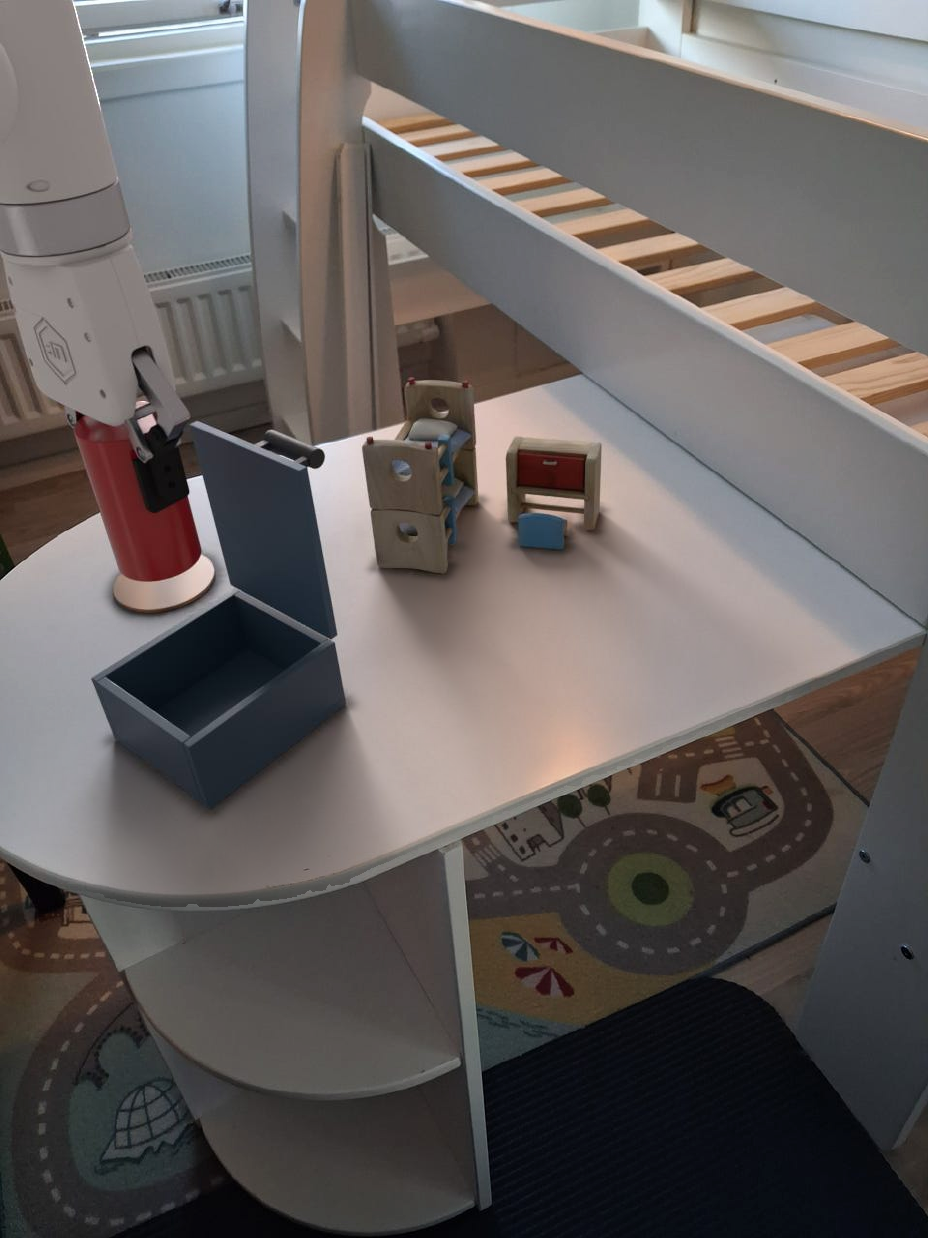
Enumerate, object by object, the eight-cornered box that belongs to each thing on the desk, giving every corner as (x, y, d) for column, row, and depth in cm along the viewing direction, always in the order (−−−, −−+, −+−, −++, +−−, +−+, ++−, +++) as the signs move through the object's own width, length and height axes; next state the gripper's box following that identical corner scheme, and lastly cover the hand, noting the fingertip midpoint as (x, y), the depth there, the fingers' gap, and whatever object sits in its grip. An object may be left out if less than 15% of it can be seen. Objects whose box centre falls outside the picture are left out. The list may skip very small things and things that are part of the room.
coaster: (128, 625, 94) (127, 622, 94) (103, 574, 101) (102, 571, 100) (228, 589, 97) (228, 586, 97) (197, 542, 104) (196, 539, 104)
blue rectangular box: (209, 810, 75) (188, 748, 71) (114, 739, 82) (90, 678, 78) (346, 703, 83) (335, 642, 79) (250, 646, 90) (234, 587, 86)
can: (129, 591, 69) (84, 451, 62) (109, 551, 73) (64, 415, 66) (212, 564, 71) (177, 425, 64) (188, 526, 75) (152, 393, 69)
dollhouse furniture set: (577, 589, 94) (579, 458, 85) (377, 567, 99) (359, 441, 90) (599, 509, 105) (603, 385, 96) (417, 493, 109) (405, 374, 101)
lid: (299, 471, 69) (353, 440, 72) (188, 424, 76) (243, 397, 79) (330, 640, 79) (377, 606, 82) (230, 585, 85) (277, 555, 89)
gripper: (-71, 214, 60) (26, 474, 71) (86, 265, 51) (169, 555, 62) (40, 184, 64) (115, 434, 75) (204, 226, 55) (261, 503, 66)
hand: (139, 486), depth 68 cm, fingers closed on can, 6 cm apart
